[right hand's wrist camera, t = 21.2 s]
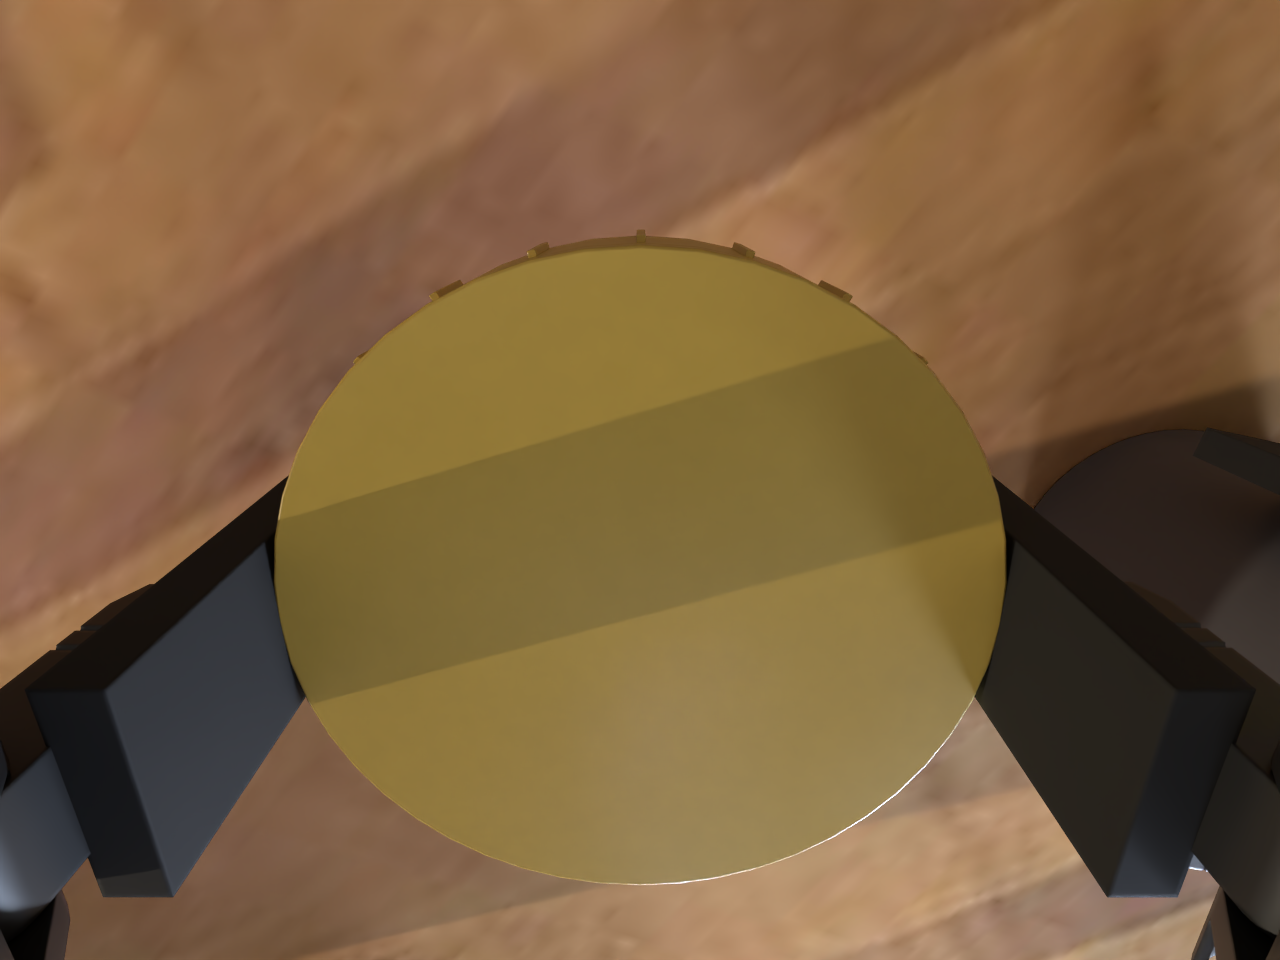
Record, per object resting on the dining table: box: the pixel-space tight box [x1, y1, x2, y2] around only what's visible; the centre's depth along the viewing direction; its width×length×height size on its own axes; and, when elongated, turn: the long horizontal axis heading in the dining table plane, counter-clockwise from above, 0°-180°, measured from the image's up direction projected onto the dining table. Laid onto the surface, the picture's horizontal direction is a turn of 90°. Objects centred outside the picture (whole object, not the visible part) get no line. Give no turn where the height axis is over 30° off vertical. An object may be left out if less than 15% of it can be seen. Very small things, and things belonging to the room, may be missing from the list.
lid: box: [274, 230, 1007, 885], centre depth 11 cm, size 10×10×2 cm
